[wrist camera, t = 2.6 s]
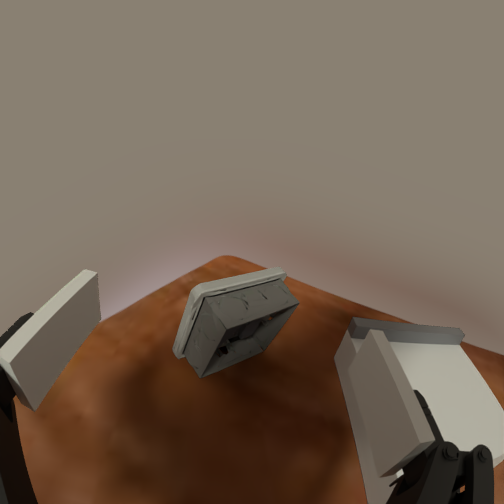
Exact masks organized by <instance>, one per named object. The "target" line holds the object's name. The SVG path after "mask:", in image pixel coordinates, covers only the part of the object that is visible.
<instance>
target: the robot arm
mask: <svg viewBox="0 0 504 504" xmlns="http://www.w3.org/2000/svg"><path fill="white" fill-rule="evenodd" d="M100 320H101V313H100V302H99V290H98V273H97V272H93V271H90V270H86V269H84V270H83V271H82V272H81V273H79V274H78V275H77V276H76V277H75V278H74V279H73V280H71V281H70V282H69V283H68V284H67V285H66V286H65V287H63V288H62V289H61V290H60V291H59V292H58V293H57V294H55V295H54V296H53V297H52V298H51V299H50V300H49V301H48V302H47V303H46V304H45V305H44V306H42V307H41V308H40V309H39V310H38V311H37V312H36V313H35V314H33V313H31V312H30V313H28V314H26V315H24V316H22V317H20V318H19V319H18V320H17V321H16V322H15V323H14V325H12V326H11V327H10V328H9V329H8V331H6V332H5V333H4V334H3V335H2V336H1V337H0V504H38V502H37V500H36V497H35V494H34V491H33V488H32V485H31V481H30V478H29V475H28V471H27V467H26V463H25V459H24V455H23V451H22V446H21V441H20V436H19V430H18V424H17V418H16V410H15V404H14V400H13V398H14V397H15V395H17V397H18V399H19V400H20V402H21V404H23V405H24V406H26V407H28V408H29V409H31V410H32V411H34V412H35V411H36V409H37V408H38V406H39V405H40V403H41V402H42V400H43V399H44V397H45V396H46V394H47V393H48V391H49V390H50V388H51V387H52V385H53V384H54V382H55V381H56V379H57V378H58V377H59V375H60V374H61V372H62V371H63V369H64V368H65V367H66V365H67V364H68V362H69V361H70V360H71V358H72V357H73V356H74V354H75V353H76V351H77V350H78V349H79V347H80V346H81V345H82V343H83V342H84V341H85V339H86V338H87V337H88V336H89V334H90V333H91V332H92V330H93V329H94V328H95V326H96V325H97V324H98V323H99V321H100ZM348 371H349V374H350V378H351V381H352V384H353V387H354V391H355V394H356V397H357V401H358V404H359V408H360V411H361V414H362V418H363V422H364V425H365V429H366V432H367V436H368V440H369V444H370V447H371V451H372V455H373V459H374V463H375V467H376V471H377V476H378V478H381V477H387V476H392V475H394V474H396V473H397V472H398V471H400V470H401V469H402V470H403V473H404V474H403V475H401V476H400V477H399V478H397V479H396V480H394V481H393V482H392V483H391V484H390V485H389V487H391V486H393V485H394V484H396V483H397V484H396V486H395V487H394V488H393V489H394V490H393V491H392V493H391V495H390V497H389V499H388V501H387V502H386V504H494V471H493V457H492V453H491V451H490V449H489V448H488V447H487V446H485V445H483V444H479V445H477V446H476V447H474V448H473V449H472V450H471V451H459V449H458V447H457V446H456V445H455V444H453V443H452V442H449V441H444V439H443V437H442V435H441V432H440V430H439V428H438V426H437V424H436V421H435V419H434V417H433V415H432V413H431V411H430V408H428V407H429V406H428V404H427V402H426V400H425V398H424V397H423V396H422V395H421V393H420V392H419V391H418V390H413V389H412V387H411V385H410V383H409V380H408V378H407V376H406V374H405V372H404V370H403V368H402V366H401V365H400V363H399V361H398V359H397V357H396V355H395V353H394V351H393V349H392V347H391V345H390V343H389V342H388V340H387V338H386V336H385V334H384V332H383V331H380V330H372V329H370V330H369V332H368V334H367V336H366V338H365V340H364V342H363V343H362V345H361V347H360V349H359V351H358V353H357V355H356V356H355V358H354V360H353V362H352V363H351V365H350V367H349V369H348ZM464 485H465V491H463V492H462V493H460V488H461V487H462V486H464Z"/></svg>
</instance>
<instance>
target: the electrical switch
mask: <svg viewBox="0 0 504 504" xmlns="http://www.w3.org/2000/svg"><path fill="white" fill-rule="evenodd" d="M286 277H287V274H286V272H285V271H284V270H283V269H282V268H280V267H275V268H271V269H266V270H262V271H257V272H253V273H248V274H243V275H239V276H234V277H229V278H224V279H220V280H215V281H210V282H205V283H200V284H198V285H197V286H196V287H194V288H193V289H192V290H191V292H190V295H189V298H188V301H187V304H186V308H185V311H184V314H183V317H182V320H181V323H180V326H179V329H178V333H177V336H176V339H175V342H174V345H173V349H172V350H173V352H174V354H175V356H176V357H177V358H178V359H179V358H182V357H186V358H187V360H188V362H189V364H190V365H191V366H192V367H193V368H194V370H195V371H196V373H197V374H198V376H199V378H203V377H205V376H208V375H210V374H212V373H215V372H217V371H220V370H222V369H224V368H227V367H229V366H232V365H234V364H236V363H238V362H241V361H243V360H245V359H247V358H250V357H252V356H254V355H256V354H258V353H261V352H262V349H263V351H264V350H265V349H266V348H267V347H268V345H269V344H270V343H271V341H272V340H273V339H274V337H275V336H276V335H277V333H278V332H279V331H280V329H281V328H282V327H283V325H284V324H285V322H286V321H287V320H288V318H289V317H290V316H291V314H292V313H293V311H294V310H295V309H296V307H297V306H298V304H299V303H300V302H299V301H298V300H297V299H296V298H295V297H294V296H293V295H292V294H291V293H290V291H289V289H288V287H287V286H286V285H285V284H284V283H283V281H284V280H285V278H286ZM270 316H271V317H272V319H271V320H270V321H269V320H268V319H269V317H270ZM231 343H232V344H231ZM249 343H250V344H249ZM231 345H232V346H231ZM223 346H226V348H227V350H228V352H229V353H228V354H223V353H222V352H221V351H220V350H219V349H218V348H219V347H223ZM260 347H261V348H262V349H261V348H260ZM234 350H235V352H236V353H235V352H234ZM215 352H216V353H217V354H219V356H220V357H219V356H218V355H217V354H216V353H215ZM218 366H219V367H218Z"/></svg>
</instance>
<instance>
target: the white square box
mask: <svg viewBox="0 0 504 504" xmlns="http://www.w3.org/2000/svg"><path fill="white" fill-rule="evenodd" d="M370 329H372V330H380V331H383V332H384V334H385V336H386V338H387V340H388V342H389V343H390V345H391V347H392V349H393V351H394V353H395V355H396V357H397V359H398V361H399V363H400V365H401V366H402V368H403V370H404V372H405V374H406V376H407V378H408V380H409V383H410V385H411V387H412V389H413V390H418V391H419V392H420V393H421V395H422V396H423V397H424V398H425V400H426V402H427V404H428V406H429V407H428V408H430V411H431V413H432V415H433V417H434V419H435V421H436V424H437V426H438V428H439V430H440V432H441V435H442V437H443V439H444V441H449V442H452V443H453V444H455V445H456V446H457V447H458V449H459V451H471V450H472V449H473V448H474V447H476V446H477V445H479V444H483V445H485V446H487V447H488V448H489V449H490V451H491V453H492V457H493V468H494V467H495V466H497V465H498V464H499V463H500V462H501V461H502V460H504V411H503V409H502V407H501V406H500V404H499V402H498V401H497V399H496V397H495V396H494V394H493V393H492V391H491V390H490V388H489V387H488V385H487V384H486V382H485V381H484V379H483V378H482V376H481V375H480V373H479V372H478V370H477V369H476V367H475V366H474V365H473V363H472V362H471V360H470V359H469V358H468V356H467V355H466V353H465V352H464V351H463V349H462V348H461V347H460V345H459V344H460V343H461V341H462V339H463V338H464V336H465V335H464V333H463V332H462V331H461V330H460V329H459V328H451V327H438V326H428V325H418V324H408V323H399V322H390V321H382V320H373V319H366V318H358V317H352V320H351V322H350V324H349V326H348V329H347V331H346V333H345V335H344V337H343V339H342V342H341V344H340V346H339V348H338V350H337V352H336V354H335V356H334V361H335V364H336V368H337V371H338V375H339V379H340V383H341V386H342V390H343V394H344V398H345V402H346V406H347V410H348V414H349V418H350V422H351V426H352V430H353V435H354V439H355V443H356V448H357V452H358V457H359V462H360V466H361V471H362V476H363V481H364V486H365V491H366V496H367V502H368V504H386V502H387V501H388V499H389V497H390V495H391V493H392V491H393V490H394V489H393V488H394V487H395V486H396V484H397V483H396V484H394V485H393V486H391V487H389V485H390V484H391V483H392V482H393V481H394V480H396V479H397V478H399V477H400V476H401V475H403V474H404V473H403V470H402V469H401V470H400V471H398V472H397V473H396V474H394V475H392V476H387V477H381V478H378V476H377V471H376V467H375V463H374V459H373V455H372V451H371V447H370V444H369V440H368V436H367V432H366V429H365V425H364V422H363V418H362V414H361V411H360V408H359V404H358V401H357V397H356V394H355V391H354V387H353V384H352V381H351V378H350V374H349V371H348V369H349V367H350V365H351V363H352V362H353V360H354V358H355V356H356V355H357V353H358V351H359V349H360V347H361V345H362V343H363V342H364V340H365V338H366V336H367V334H368V332H369V330H370Z"/></svg>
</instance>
